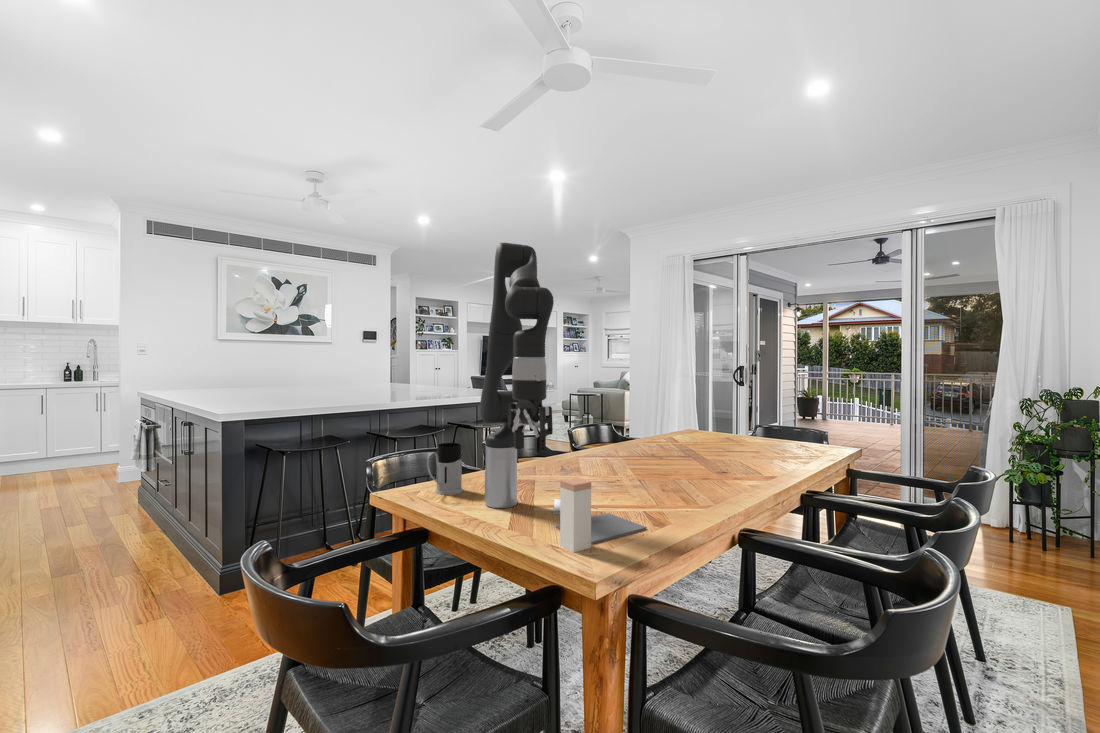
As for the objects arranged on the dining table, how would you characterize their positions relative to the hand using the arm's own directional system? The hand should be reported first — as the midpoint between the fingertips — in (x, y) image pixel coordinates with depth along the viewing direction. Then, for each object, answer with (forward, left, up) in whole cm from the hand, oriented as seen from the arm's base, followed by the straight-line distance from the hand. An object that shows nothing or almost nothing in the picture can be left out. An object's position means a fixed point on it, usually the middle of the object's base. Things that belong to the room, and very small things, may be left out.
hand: (529, 451), depth 112 cm
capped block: (+3, +11, -22) cm, 25 cm away
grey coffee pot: (-57, +5, -23) cm, 62 cm away
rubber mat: (-3, +24, -22) cm, 33 cm away
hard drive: (-22, +28, -23) cm, 42 cm away
